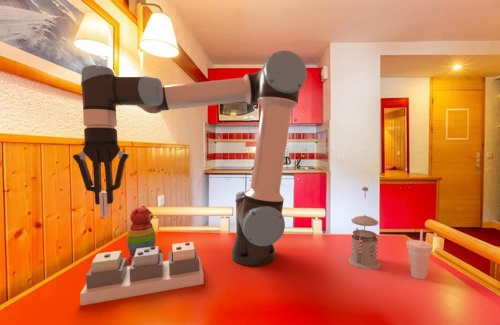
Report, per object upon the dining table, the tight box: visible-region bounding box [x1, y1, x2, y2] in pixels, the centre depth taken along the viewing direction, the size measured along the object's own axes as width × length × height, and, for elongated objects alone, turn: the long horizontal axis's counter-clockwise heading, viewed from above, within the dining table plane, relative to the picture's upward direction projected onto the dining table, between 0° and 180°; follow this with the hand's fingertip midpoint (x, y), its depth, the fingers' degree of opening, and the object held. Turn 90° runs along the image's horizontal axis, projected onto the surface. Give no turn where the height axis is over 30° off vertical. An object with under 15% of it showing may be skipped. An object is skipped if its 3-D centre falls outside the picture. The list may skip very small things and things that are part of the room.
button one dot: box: [91, 250, 123, 273], centre depth 69 cm, size 6×6×4 cm
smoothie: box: [406, 228, 434, 280], centre depth 74 cm, size 6×6×14 cm
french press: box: [348, 186, 382, 270], centre depth 82 cm, size 10×12×25 cm
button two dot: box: [172, 241, 195, 262], centre depth 75 cm, size 6×6×4 cm
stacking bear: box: [126, 205, 163, 263], centre depth 90 cm, size 11×10×18 cm
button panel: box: [79, 247, 205, 306], centre depth 73 cm, size 30×12×6 cm, turn 108°
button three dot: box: [134, 245, 160, 267], centre depth 72 cm, size 6×6×4 cm
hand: (105, 215), depth 69 cm, fingers closed
